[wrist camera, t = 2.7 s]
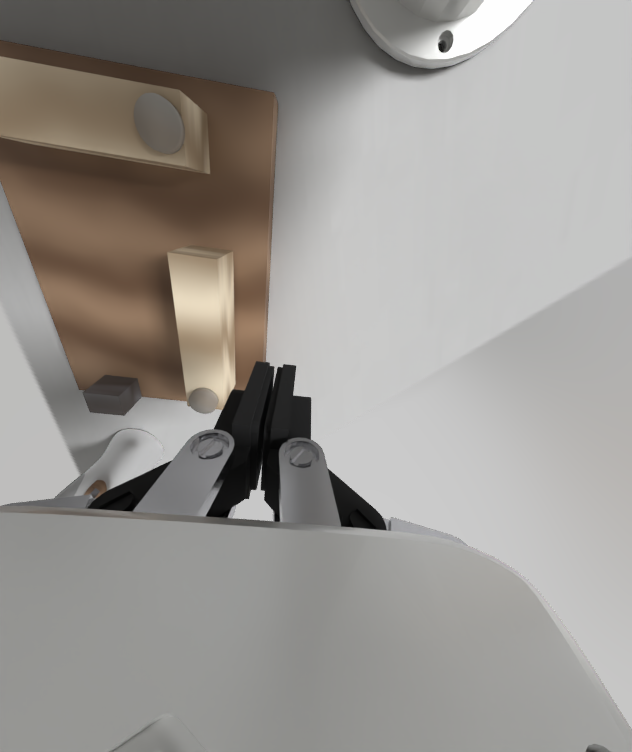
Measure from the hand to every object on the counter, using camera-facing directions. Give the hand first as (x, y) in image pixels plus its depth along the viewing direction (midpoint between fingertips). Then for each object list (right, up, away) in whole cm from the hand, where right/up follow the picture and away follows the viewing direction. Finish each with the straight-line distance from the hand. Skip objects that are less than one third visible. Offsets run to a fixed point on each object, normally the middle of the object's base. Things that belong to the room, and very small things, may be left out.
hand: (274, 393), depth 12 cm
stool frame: (-11, +10, +12) cm, 19 cm away
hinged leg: (-7, +5, +12) cm, 14 cm away
